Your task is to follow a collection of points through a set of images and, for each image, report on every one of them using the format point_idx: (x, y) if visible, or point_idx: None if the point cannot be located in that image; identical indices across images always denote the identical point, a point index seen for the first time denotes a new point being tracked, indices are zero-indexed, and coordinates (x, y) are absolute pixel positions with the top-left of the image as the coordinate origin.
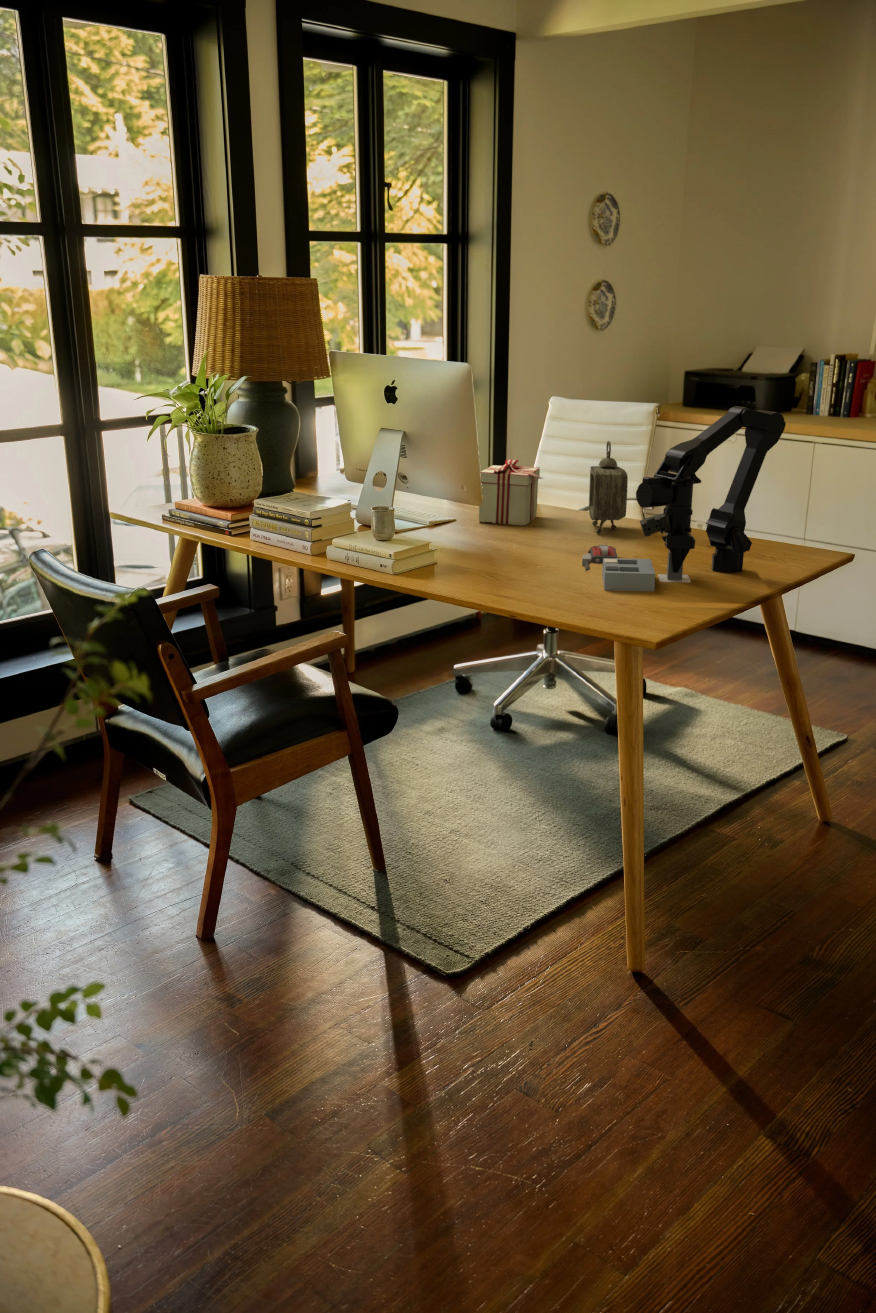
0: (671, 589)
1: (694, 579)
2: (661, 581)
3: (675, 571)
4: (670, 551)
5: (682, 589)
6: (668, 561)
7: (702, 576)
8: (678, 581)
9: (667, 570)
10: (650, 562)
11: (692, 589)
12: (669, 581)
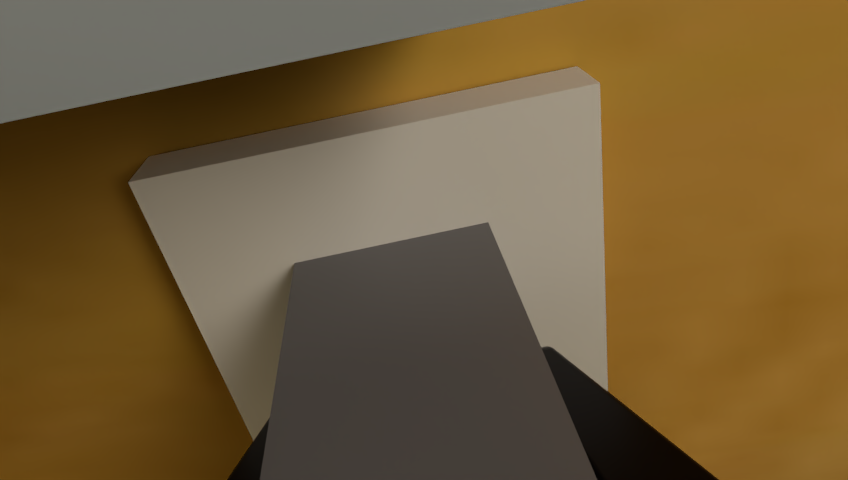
0: (55, 307)
1: None
2: (156, 197)
3: None
4: None
5: (126, 401)
6: (357, 457)
7: (704, 464)
8: (261, 382)
9: (427, 299)
10: (75, 65)
11: (179, 470)
12: (207, 294)
